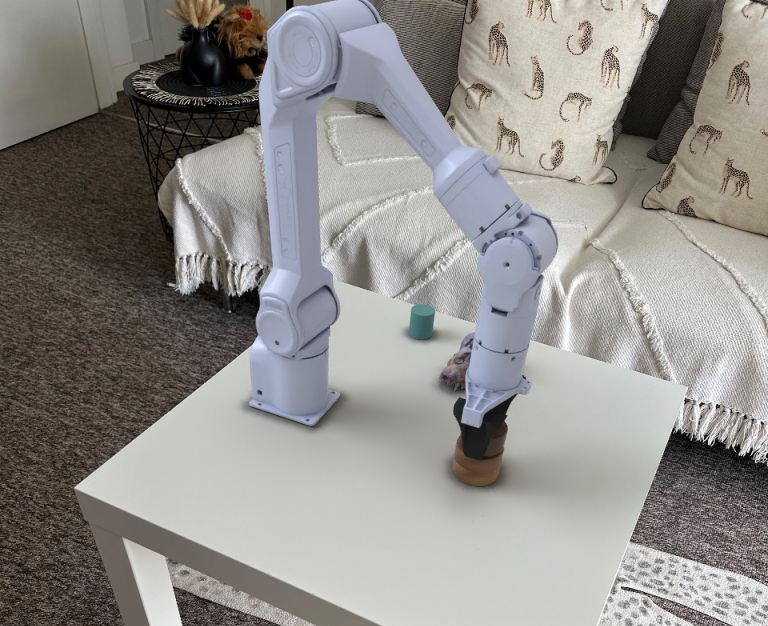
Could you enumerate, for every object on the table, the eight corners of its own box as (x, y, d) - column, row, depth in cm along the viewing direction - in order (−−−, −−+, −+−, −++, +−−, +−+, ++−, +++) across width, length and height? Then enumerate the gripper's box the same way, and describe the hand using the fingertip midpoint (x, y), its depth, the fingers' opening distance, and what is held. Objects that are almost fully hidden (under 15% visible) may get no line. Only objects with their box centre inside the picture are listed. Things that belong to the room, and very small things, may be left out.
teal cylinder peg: (405, 335, 107) (407, 311, 105) (414, 325, 110) (416, 301, 107) (427, 342, 106) (430, 317, 104) (435, 331, 109) (438, 307, 106)
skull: (457, 399, 95) (460, 356, 91) (418, 379, 100) (421, 338, 96) (517, 376, 101) (522, 335, 98) (478, 358, 106) (482, 319, 103)
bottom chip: (445, 477, 84) (447, 464, 83) (461, 451, 88) (463, 438, 86) (490, 492, 83) (492, 479, 81) (504, 465, 86) (507, 452, 85)
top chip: (447, 464, 83) (449, 450, 81) (463, 438, 86) (465, 425, 85) (492, 479, 81) (496, 465, 80) (507, 452, 85) (510, 439, 84)
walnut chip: (453, 448, 81) (456, 430, 79) (467, 424, 85) (471, 407, 83) (496, 461, 80) (500, 444, 78) (509, 437, 83) (513, 420, 82)
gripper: (519, 384, 67) (494, 490, 76) (556, 319, 77) (530, 420, 86) (450, 364, 69) (434, 470, 78) (494, 303, 79) (475, 404, 88)
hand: (480, 443), depth 82 cm, fingers closed on walnut chip, 5 cm apart
